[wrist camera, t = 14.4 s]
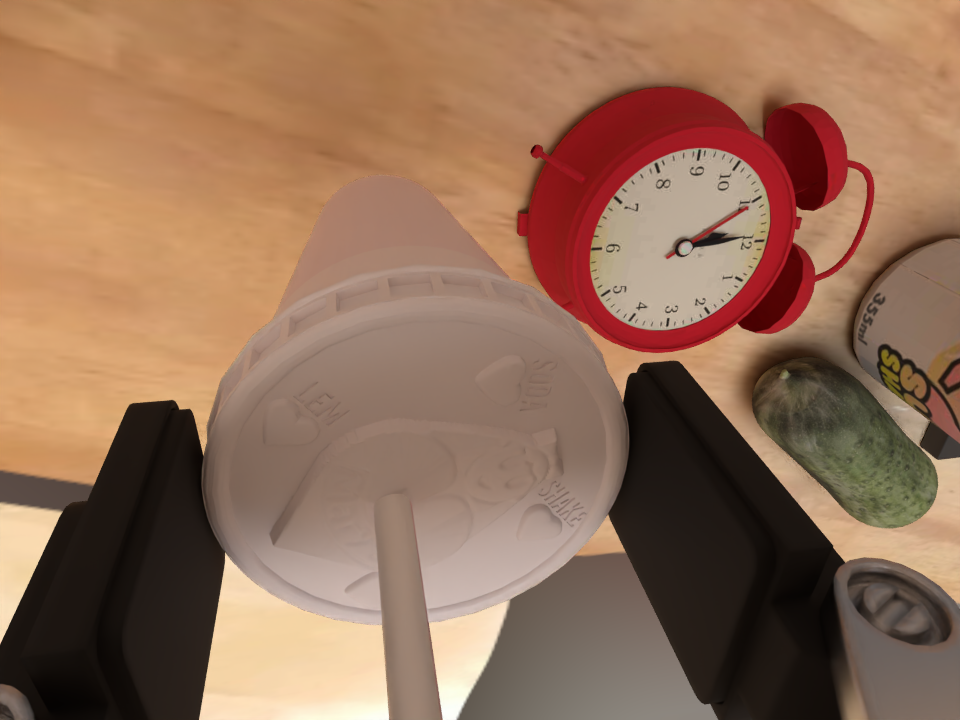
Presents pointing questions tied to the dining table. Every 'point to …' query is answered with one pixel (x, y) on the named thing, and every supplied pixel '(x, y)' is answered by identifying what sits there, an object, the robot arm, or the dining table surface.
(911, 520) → the vegetable
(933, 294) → the beverage can
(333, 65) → the dining table surface
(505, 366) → the smoothie
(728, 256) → the alarm clock
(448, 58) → the dining table surface
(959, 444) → the grey button plate
